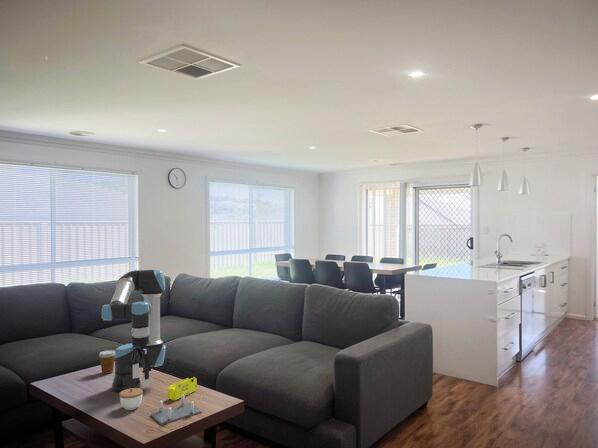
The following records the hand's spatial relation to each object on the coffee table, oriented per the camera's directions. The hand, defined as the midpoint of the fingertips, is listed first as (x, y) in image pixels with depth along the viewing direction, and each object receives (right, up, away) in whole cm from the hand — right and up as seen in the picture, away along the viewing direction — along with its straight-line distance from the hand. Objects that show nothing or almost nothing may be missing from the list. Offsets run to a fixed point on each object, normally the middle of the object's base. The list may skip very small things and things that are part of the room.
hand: (140, 381), depth 207 cm
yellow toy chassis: (+12, -18, +29) cm, 36 cm away
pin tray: (+15, -18, +6) cm, 24 cm away
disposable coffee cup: (-44, -18, +67) cm, 82 cm away
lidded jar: (-10, -18, +14) cm, 25 cm away
